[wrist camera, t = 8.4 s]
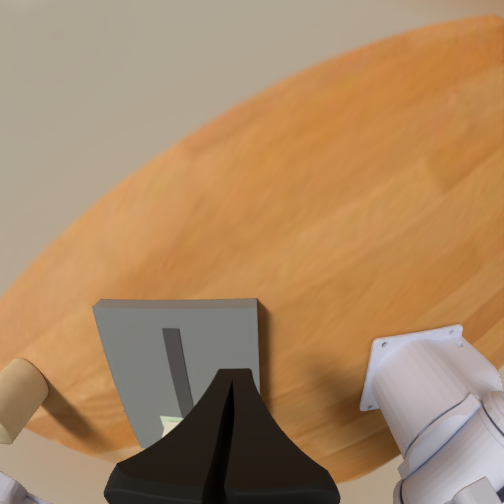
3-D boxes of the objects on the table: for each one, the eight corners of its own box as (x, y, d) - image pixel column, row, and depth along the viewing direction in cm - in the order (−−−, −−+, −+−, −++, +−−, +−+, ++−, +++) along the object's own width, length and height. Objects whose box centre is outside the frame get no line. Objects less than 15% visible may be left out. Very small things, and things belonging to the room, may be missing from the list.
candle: (51, 404, 24) (11, 461, 15) (16, 383, 24) (-27, 432, 14) (47, 371, 23) (-3, 432, 13) (10, 348, 23) (-43, 398, 13)
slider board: (256, 298, 21) (257, 308, 19) (261, 443, 25) (261, 455, 23) (100, 299, 21) (91, 307, 19) (144, 437, 25) (140, 448, 23)
